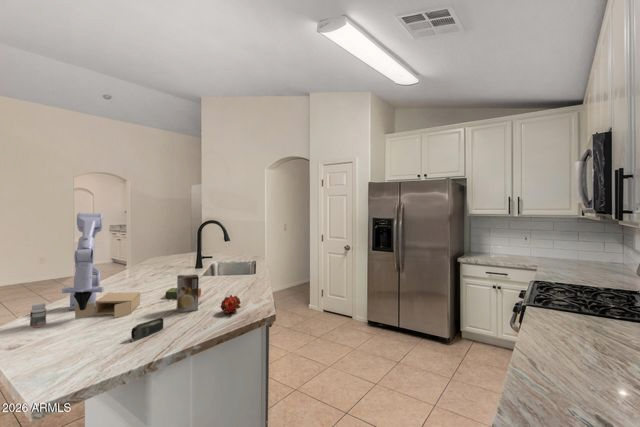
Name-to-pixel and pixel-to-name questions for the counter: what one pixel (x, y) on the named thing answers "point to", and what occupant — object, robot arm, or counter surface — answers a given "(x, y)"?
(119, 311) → the right flap
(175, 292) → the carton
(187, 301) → the coffee box
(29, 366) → the counter surface
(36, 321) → the pill bottle
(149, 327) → the mobile phone
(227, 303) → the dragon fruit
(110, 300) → the cardboard box
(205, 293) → the counter surface
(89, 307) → the left flap
